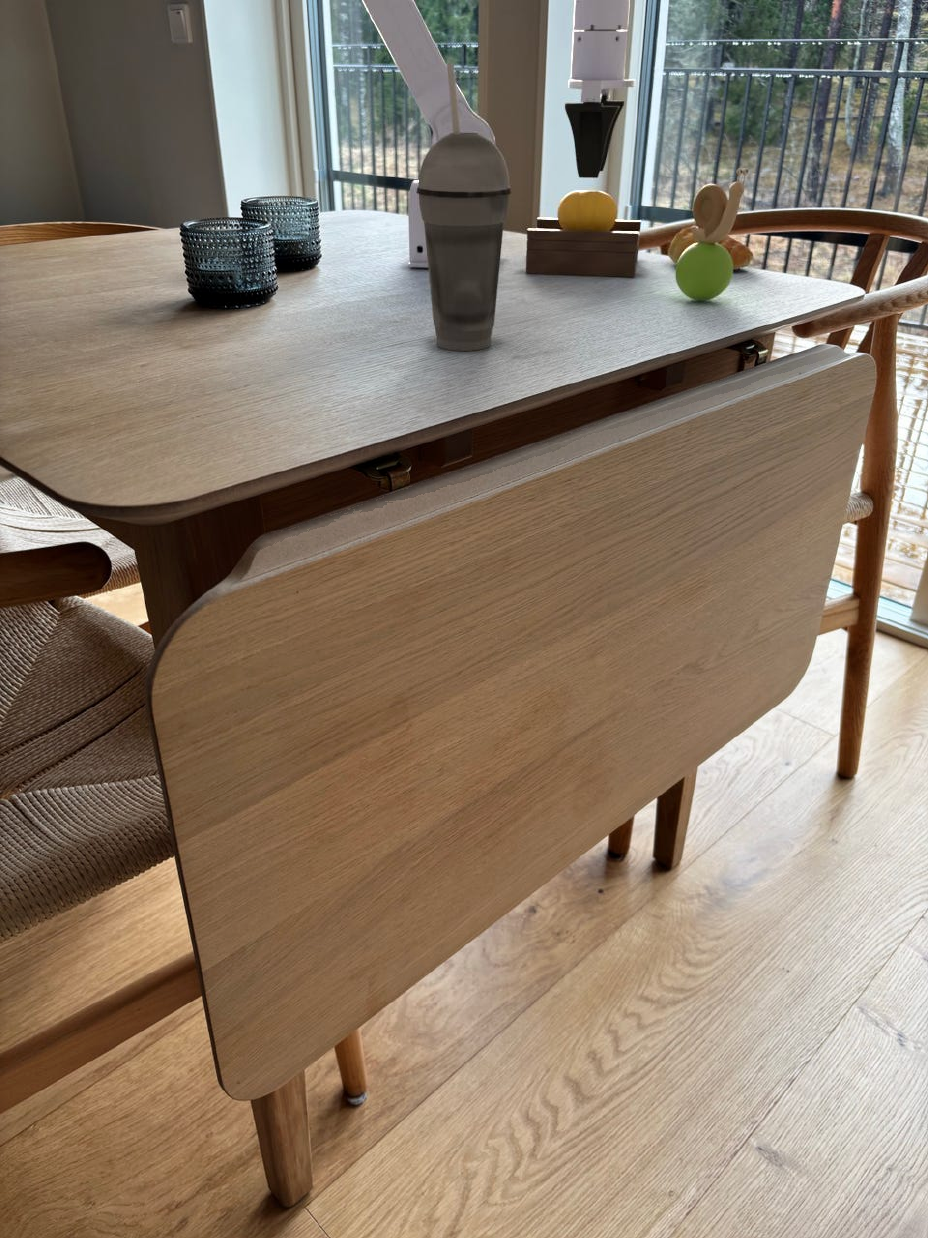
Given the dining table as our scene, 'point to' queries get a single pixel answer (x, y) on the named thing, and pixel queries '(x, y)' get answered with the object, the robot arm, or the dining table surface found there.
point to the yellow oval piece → (587, 211)
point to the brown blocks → (583, 249)
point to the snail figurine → (710, 242)
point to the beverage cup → (463, 231)
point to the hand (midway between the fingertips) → (591, 173)
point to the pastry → (736, 249)
